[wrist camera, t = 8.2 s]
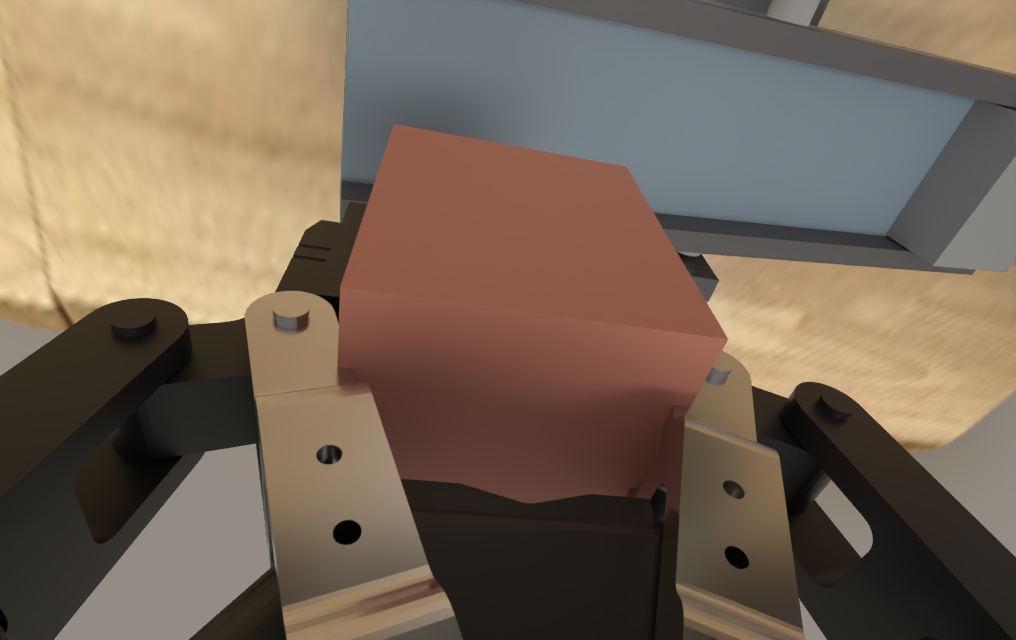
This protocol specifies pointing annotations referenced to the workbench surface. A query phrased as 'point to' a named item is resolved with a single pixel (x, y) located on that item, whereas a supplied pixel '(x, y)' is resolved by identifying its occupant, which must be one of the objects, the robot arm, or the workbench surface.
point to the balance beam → (708, 121)
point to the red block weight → (519, 318)
